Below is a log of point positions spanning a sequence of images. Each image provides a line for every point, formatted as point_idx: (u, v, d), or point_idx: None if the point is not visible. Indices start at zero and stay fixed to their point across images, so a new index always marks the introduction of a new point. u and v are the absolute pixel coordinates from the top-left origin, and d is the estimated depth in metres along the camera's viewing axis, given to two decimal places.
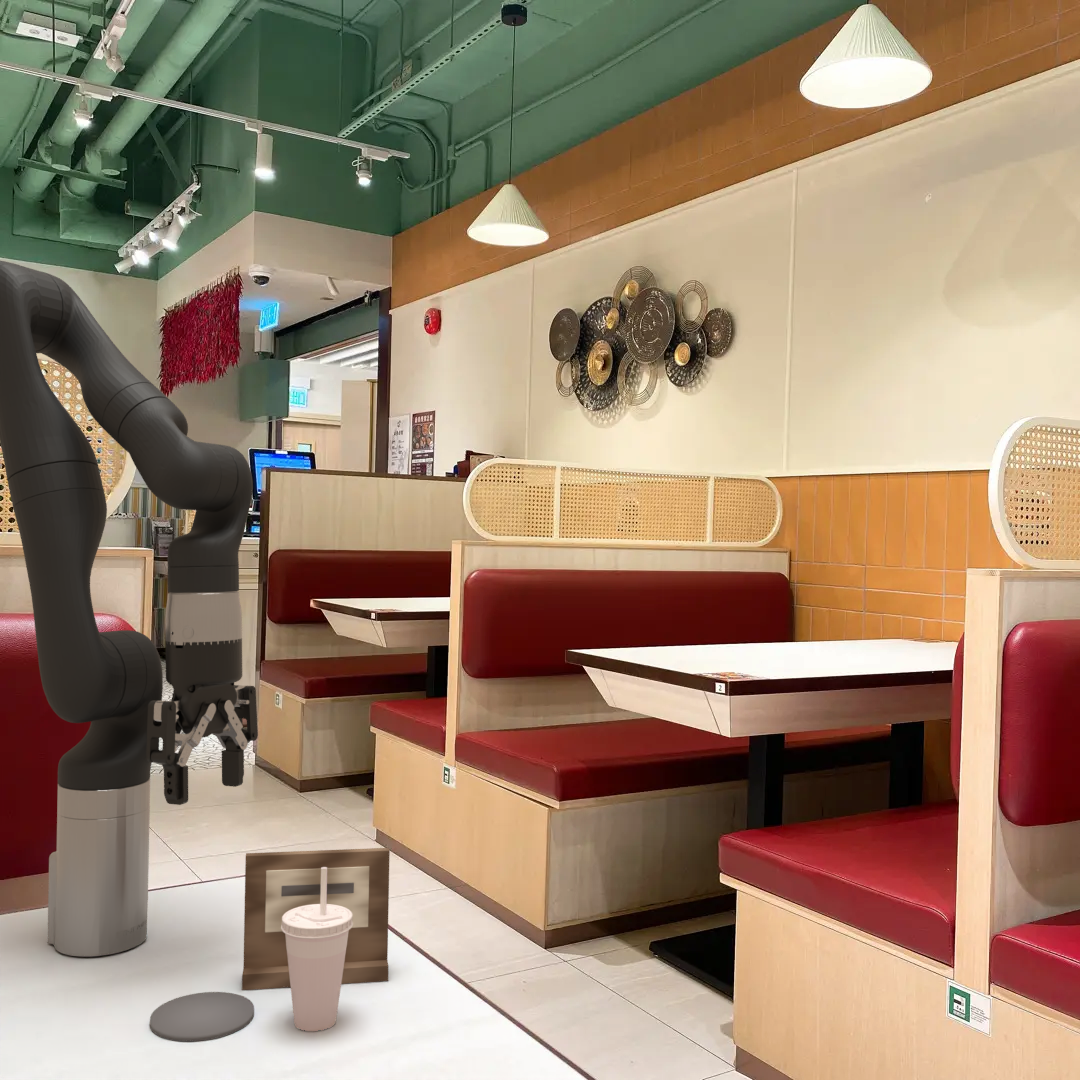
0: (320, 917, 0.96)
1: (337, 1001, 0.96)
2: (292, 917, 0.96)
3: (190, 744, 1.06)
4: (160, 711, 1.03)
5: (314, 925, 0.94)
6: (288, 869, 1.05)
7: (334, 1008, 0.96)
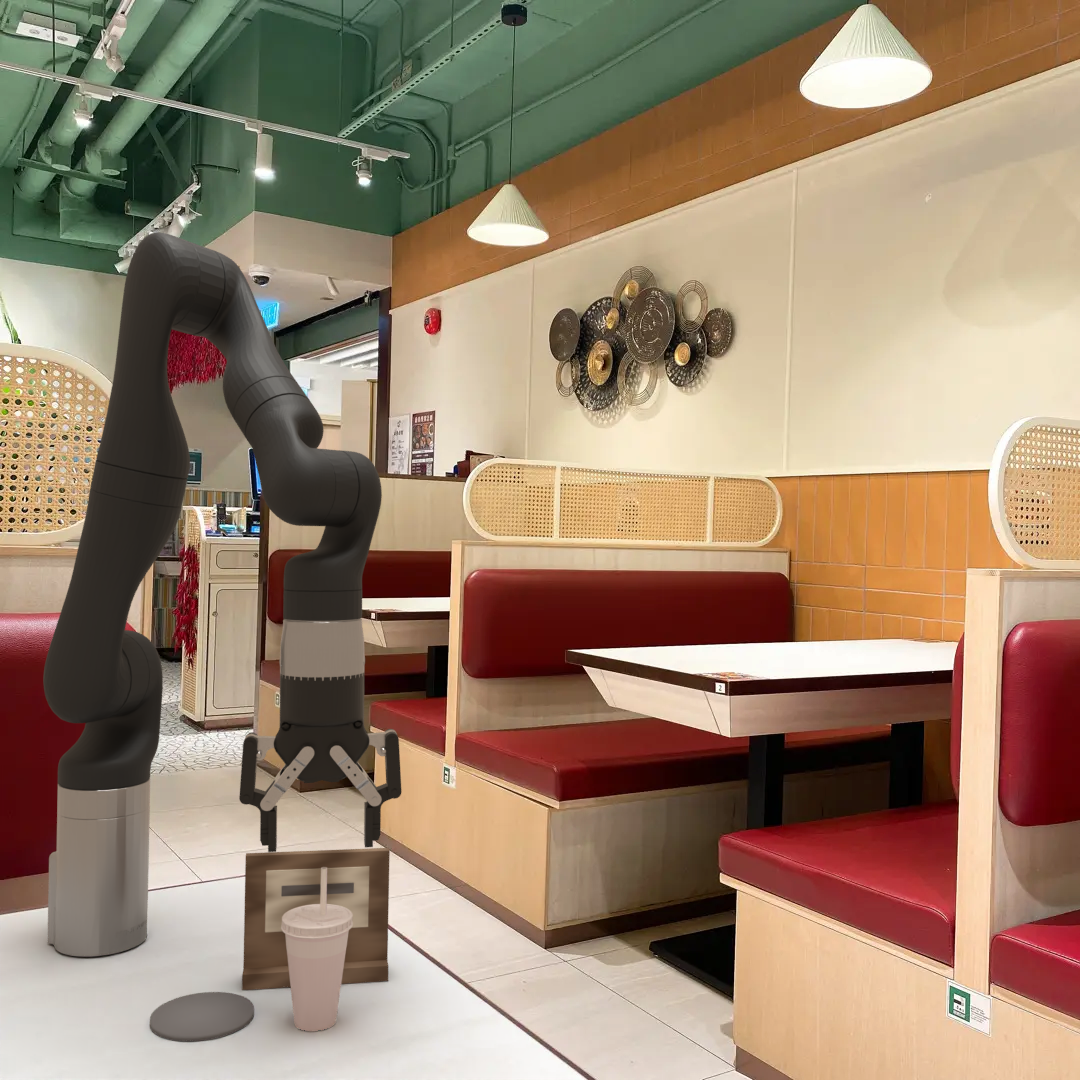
0: (320, 917, 0.96)
1: (337, 1001, 0.96)
2: (292, 917, 0.96)
3: None
4: None
5: (314, 925, 0.94)
6: (288, 869, 1.05)
7: (334, 1008, 0.96)
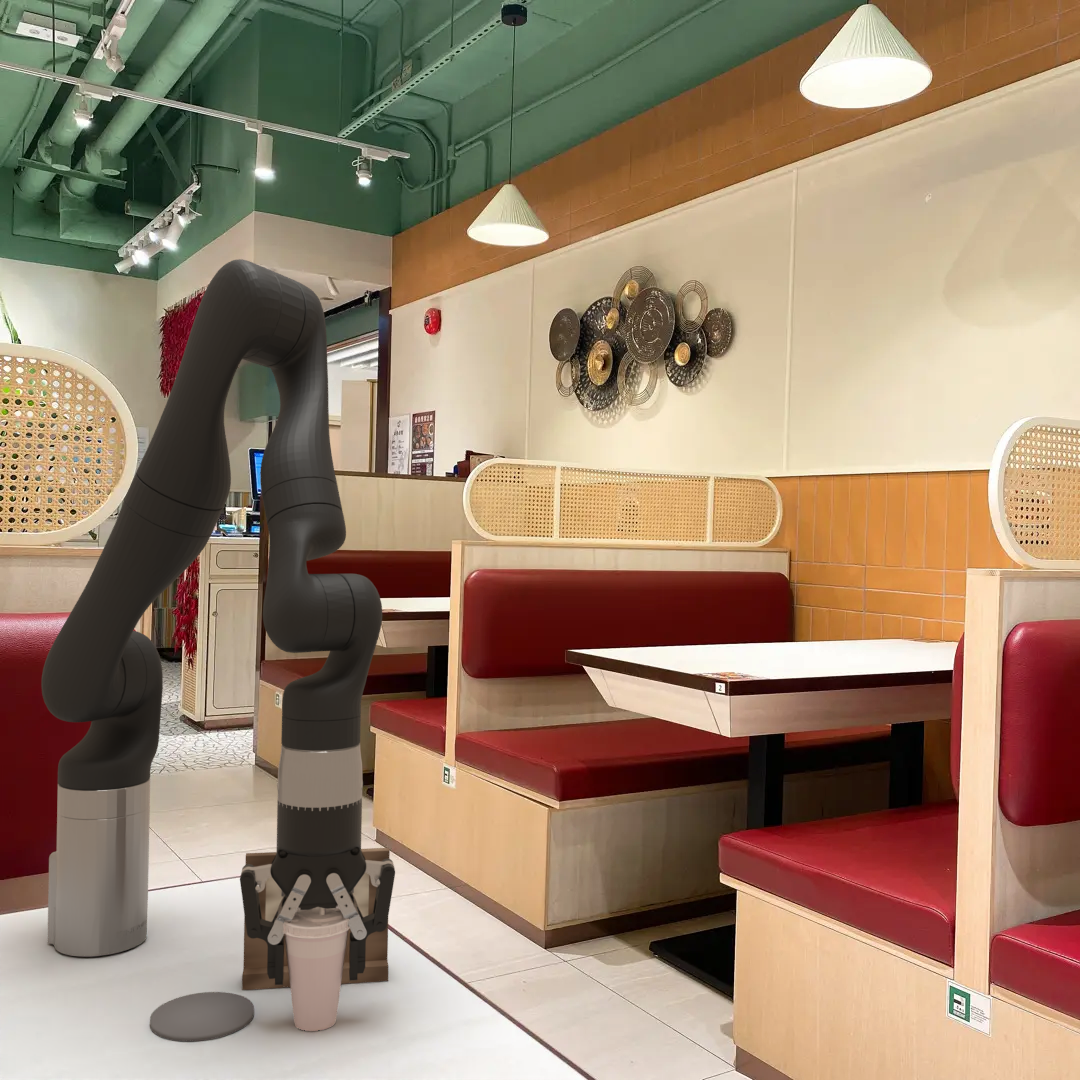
0: (319, 917, 0.96)
1: (337, 1001, 0.96)
2: None
3: None
4: None
5: (314, 925, 0.94)
6: None
7: (333, 1008, 0.96)
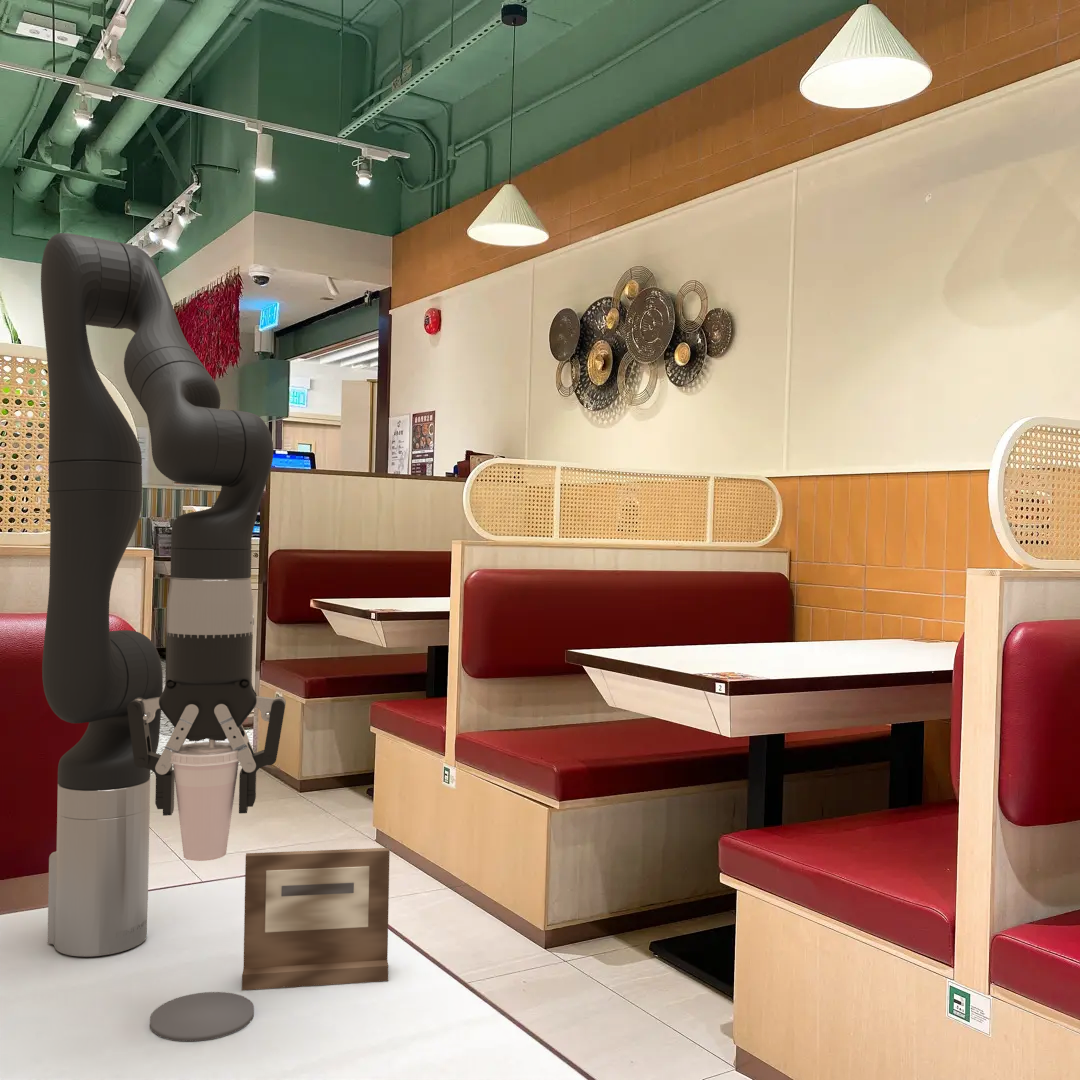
0: (208, 749, 0.96)
1: (226, 833, 0.97)
2: (181, 750, 0.97)
3: None
4: None
5: (201, 754, 0.95)
6: (288, 869, 1.05)
7: (222, 840, 0.96)
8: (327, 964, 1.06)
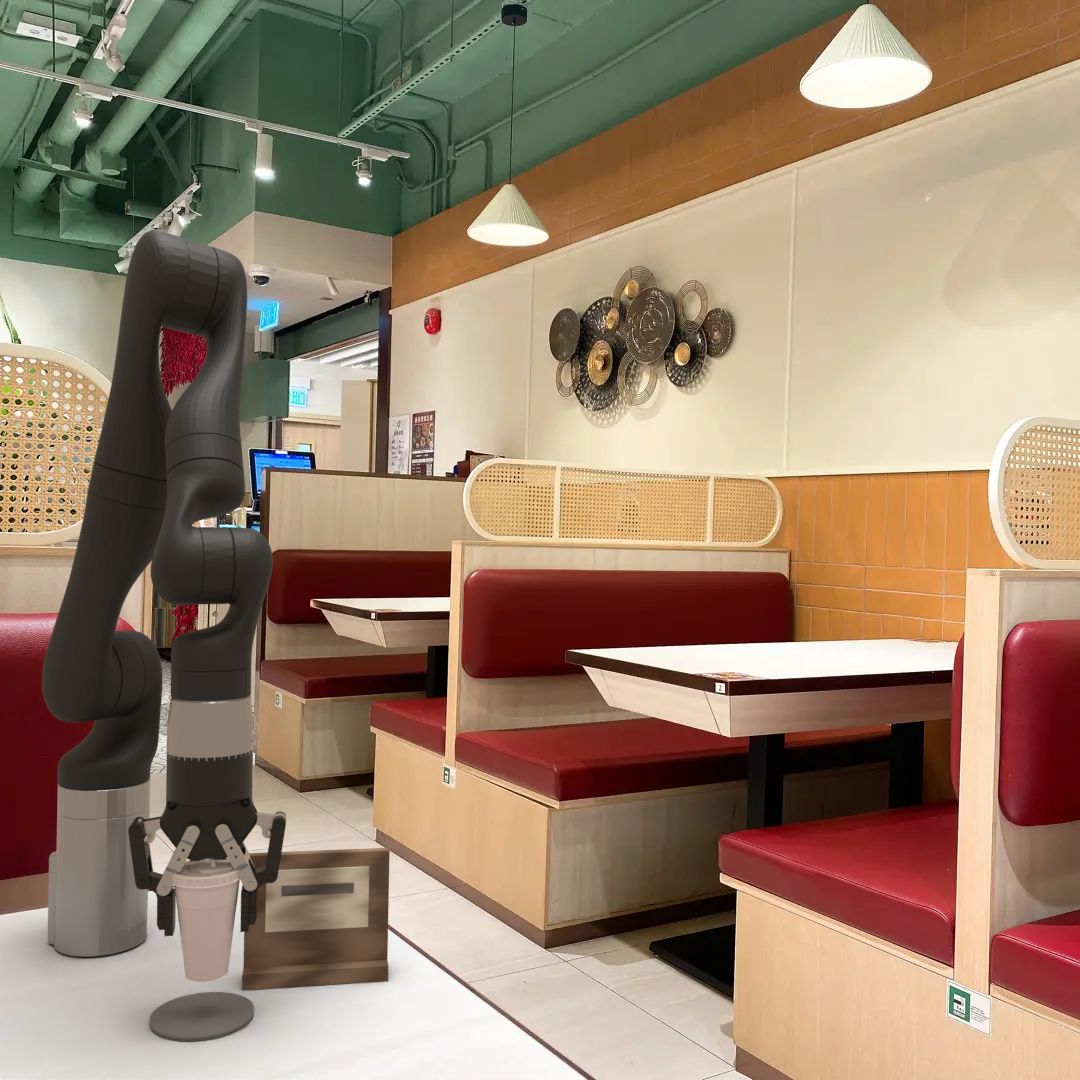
0: (209, 868, 0.96)
1: (228, 952, 0.97)
2: (182, 869, 0.97)
3: None
4: None
5: (202, 876, 0.95)
6: (288, 869, 1.05)
7: (224, 959, 0.96)
8: (327, 964, 1.06)
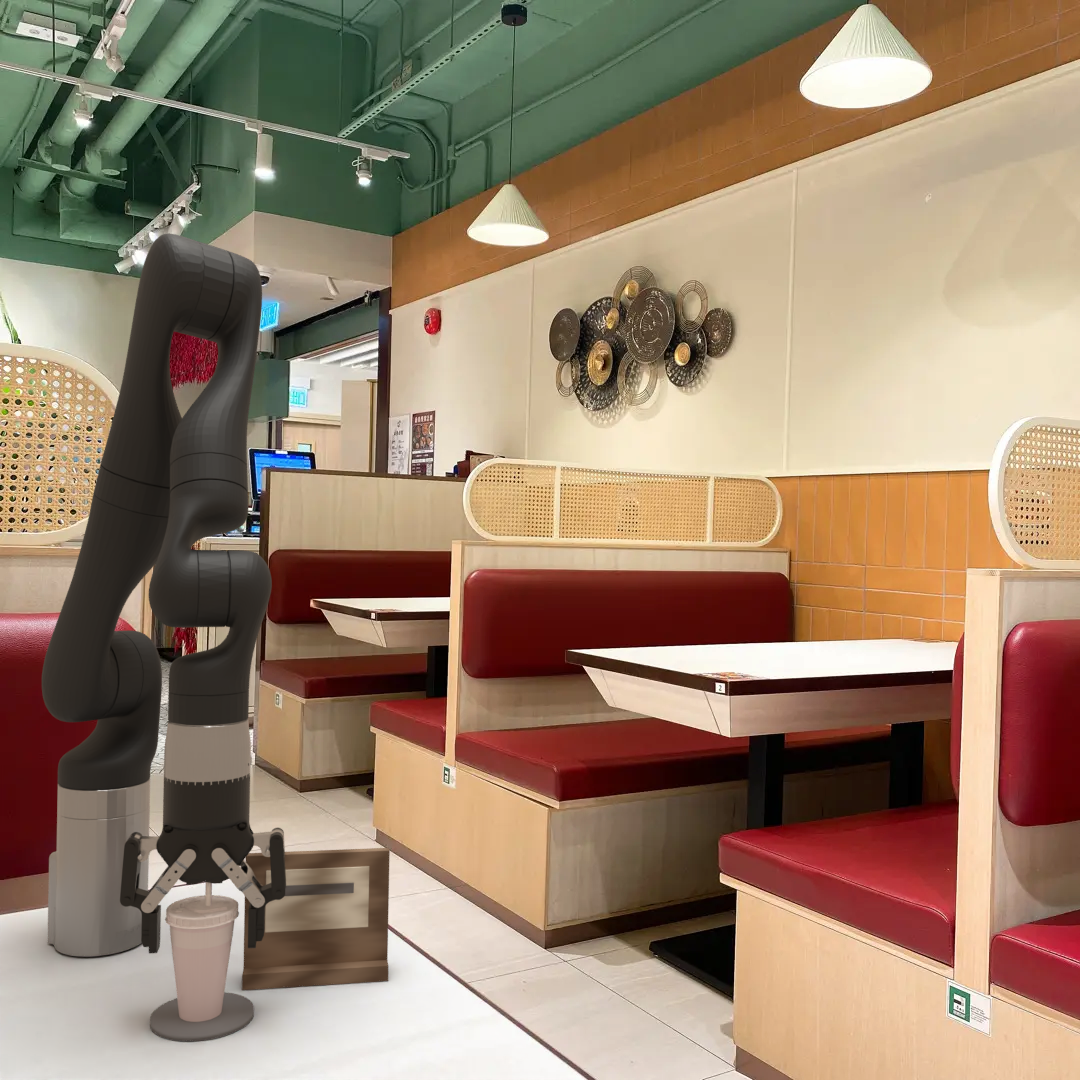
0: (204, 908, 0.96)
1: (222, 992, 0.97)
2: (177, 908, 0.97)
3: None
4: (283, 839, 0.99)
5: (197, 916, 0.95)
6: (288, 869, 1.05)
7: (218, 999, 0.96)
8: (327, 964, 1.06)
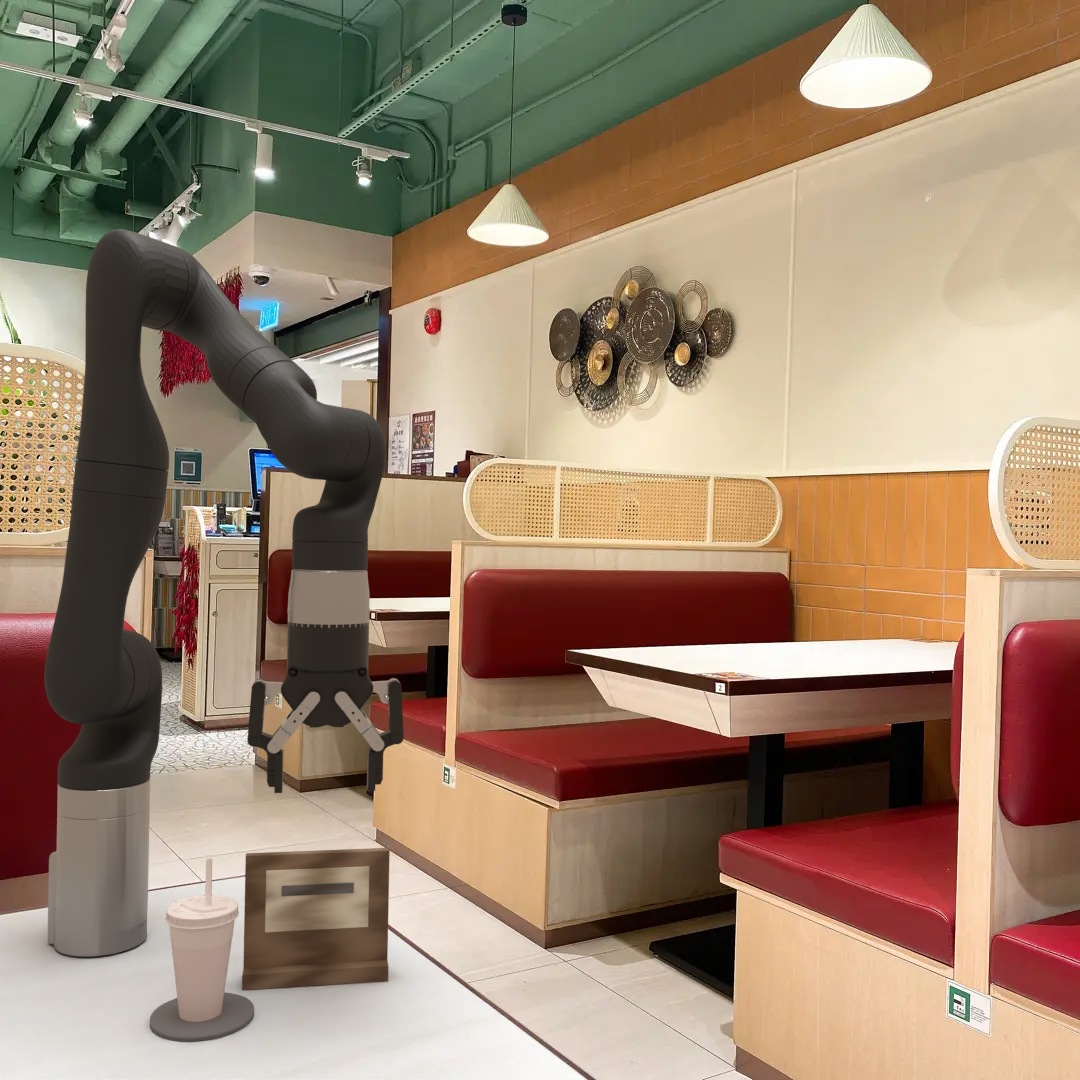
0: (204, 908, 0.96)
1: (222, 992, 0.97)
2: (177, 908, 0.97)
3: None
4: None
5: (197, 916, 0.95)
6: (288, 869, 1.05)
7: (218, 999, 0.96)
8: (327, 964, 1.06)
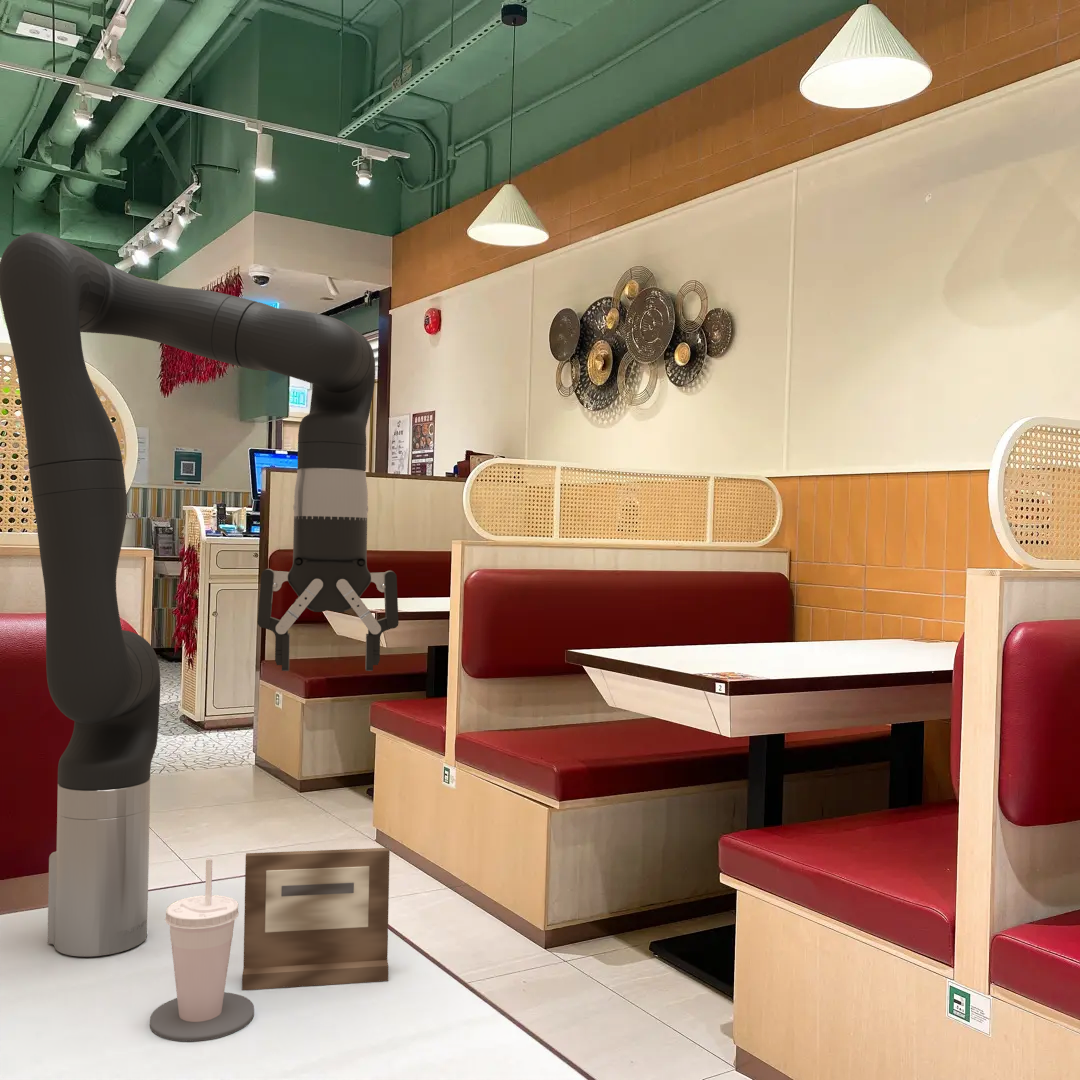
0: (204, 908, 0.96)
1: (222, 992, 0.97)
2: (177, 908, 0.97)
3: None
4: None
5: (197, 916, 0.95)
6: (288, 869, 1.05)
7: (218, 999, 0.96)
8: (327, 964, 1.06)
